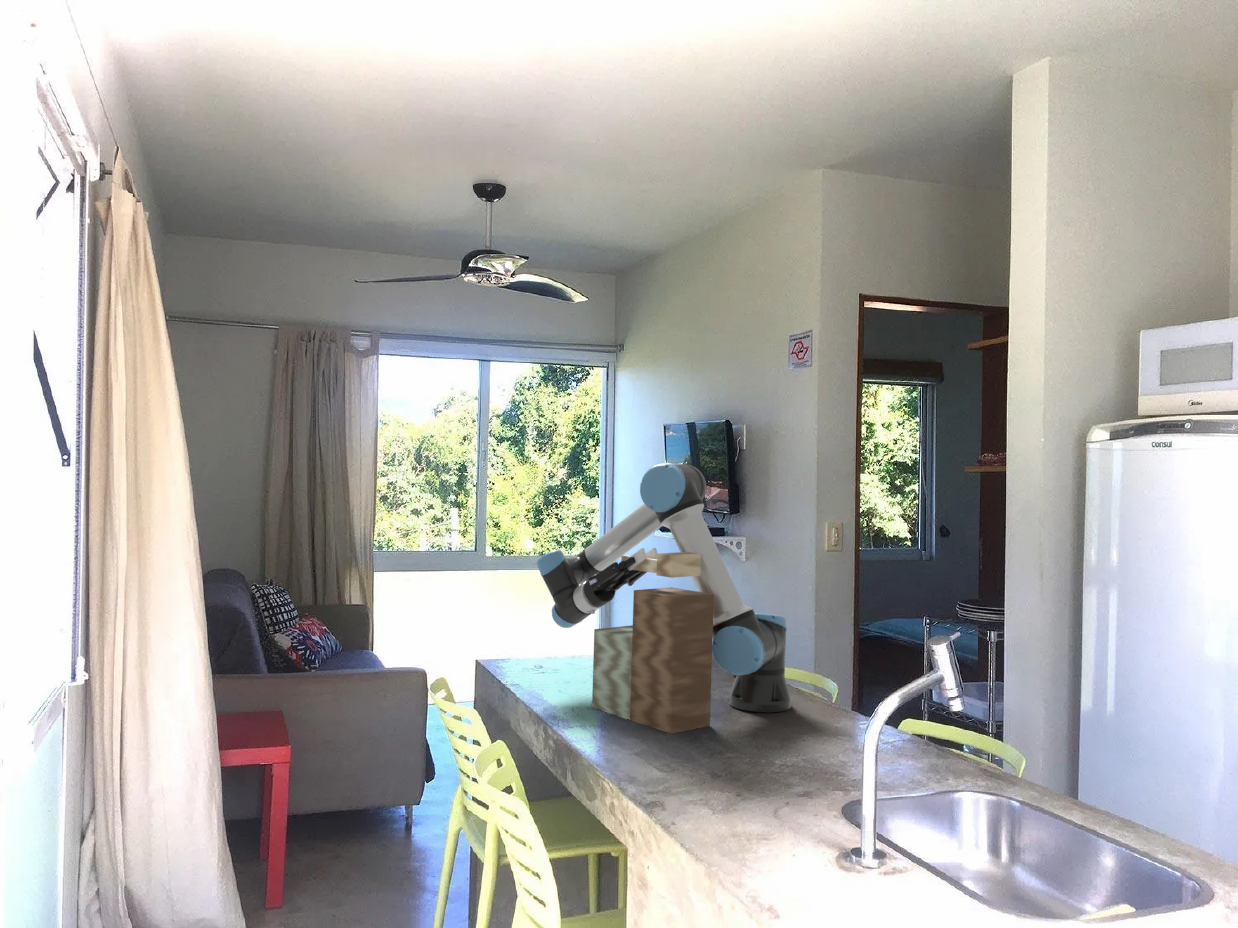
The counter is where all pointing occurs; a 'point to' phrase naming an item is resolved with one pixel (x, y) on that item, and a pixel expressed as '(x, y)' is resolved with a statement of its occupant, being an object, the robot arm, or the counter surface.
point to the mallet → (671, 564)
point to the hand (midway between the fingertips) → (650, 553)
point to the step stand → (658, 661)
